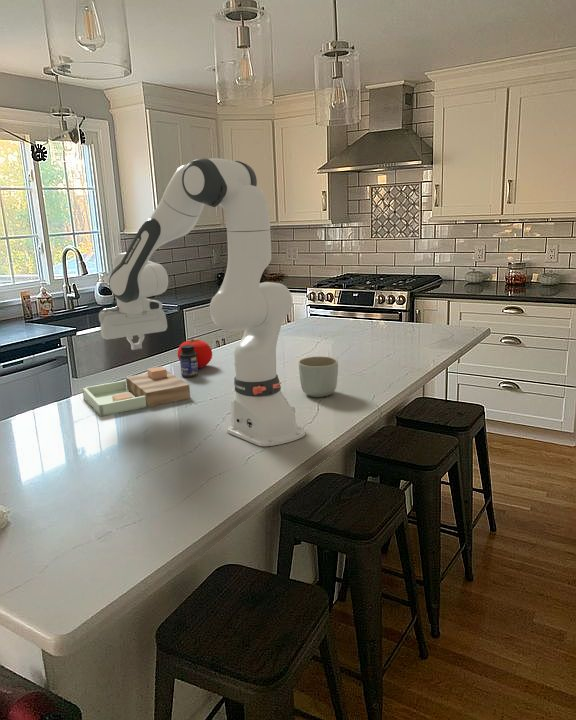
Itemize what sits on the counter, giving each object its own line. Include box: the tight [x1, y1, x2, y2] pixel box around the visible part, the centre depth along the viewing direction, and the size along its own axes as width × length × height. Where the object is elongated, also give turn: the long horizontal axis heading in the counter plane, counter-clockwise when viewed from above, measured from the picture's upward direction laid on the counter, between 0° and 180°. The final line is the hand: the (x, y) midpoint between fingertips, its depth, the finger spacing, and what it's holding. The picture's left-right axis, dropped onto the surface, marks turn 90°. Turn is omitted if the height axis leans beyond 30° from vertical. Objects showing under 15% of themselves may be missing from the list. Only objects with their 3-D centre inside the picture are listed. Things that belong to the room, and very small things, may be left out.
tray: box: [81, 379, 147, 417], centre depth 188 cm, size 22×14×4 cm, turn 31°
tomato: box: [177, 338, 213, 369], centre depth 225 cm, size 12×13×11 cm
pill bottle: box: [179, 345, 199, 378], centre depth 214 cm, size 6×6×11 cm
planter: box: [298, 356, 339, 398], centre depth 187 cm, size 12×12×11 cm
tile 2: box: [146, 366, 168, 379], centre depth 199 cm, size 5×5×2 cm
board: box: [125, 370, 191, 408], centre depth 195 cm, size 22×14×4 cm, turn 31°
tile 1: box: [112, 393, 133, 402], centre depth 185 cm, size 5×5×2 cm
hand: (136, 349), depth 184 cm, fingers closed
